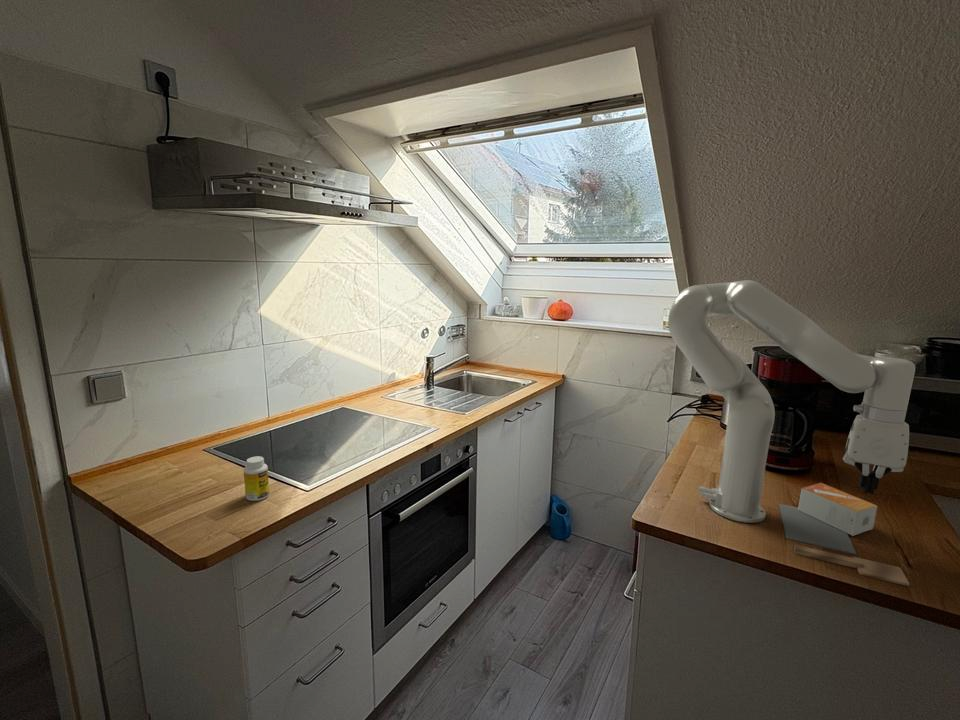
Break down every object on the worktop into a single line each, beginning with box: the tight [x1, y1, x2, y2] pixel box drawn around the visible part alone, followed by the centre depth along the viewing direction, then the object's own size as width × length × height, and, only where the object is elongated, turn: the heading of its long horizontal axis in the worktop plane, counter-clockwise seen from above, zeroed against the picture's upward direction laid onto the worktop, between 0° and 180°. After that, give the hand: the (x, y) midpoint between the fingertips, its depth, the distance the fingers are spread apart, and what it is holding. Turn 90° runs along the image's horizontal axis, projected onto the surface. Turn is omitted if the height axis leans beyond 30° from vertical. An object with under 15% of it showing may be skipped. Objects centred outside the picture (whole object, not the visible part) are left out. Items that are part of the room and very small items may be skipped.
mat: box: [778, 503, 857, 556], centre depth 116 cm, size 13×18×1 cm
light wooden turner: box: [793, 544, 911, 587], centre depth 102 cm, size 19×6×1 cm, turn 64°
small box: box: [797, 482, 878, 537], centre depth 119 cm, size 8×6×13 cm
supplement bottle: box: [243, 455, 270, 502], centre depth 123 cm, size 6×6×10 cm
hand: (866, 490), depth 110 cm, fingers closed
